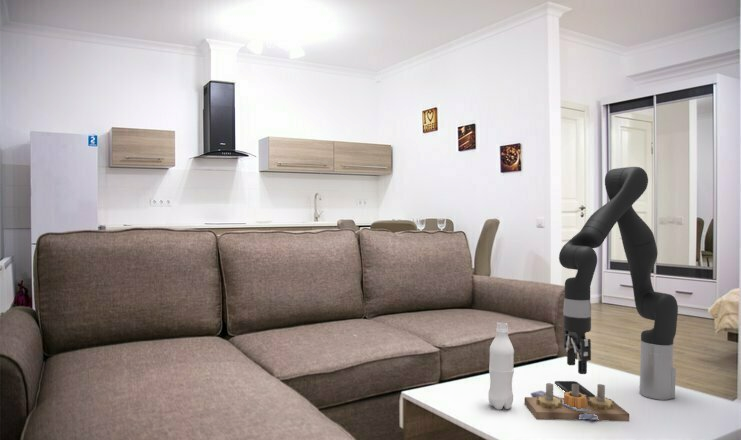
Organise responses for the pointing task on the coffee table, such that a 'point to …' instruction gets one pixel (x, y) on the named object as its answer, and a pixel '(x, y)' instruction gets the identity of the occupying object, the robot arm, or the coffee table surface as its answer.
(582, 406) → the gear
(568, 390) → the phone
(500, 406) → the water bottle
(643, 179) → the robot arm
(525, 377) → the coffee table surface
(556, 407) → the gear board
